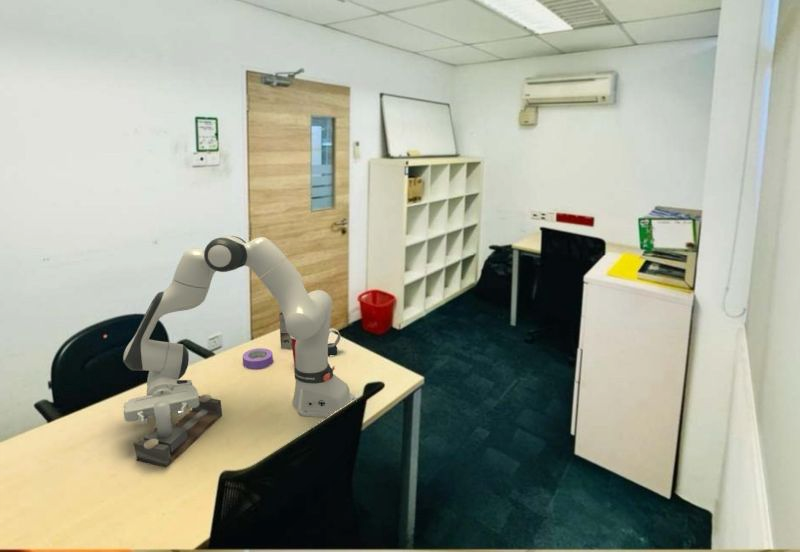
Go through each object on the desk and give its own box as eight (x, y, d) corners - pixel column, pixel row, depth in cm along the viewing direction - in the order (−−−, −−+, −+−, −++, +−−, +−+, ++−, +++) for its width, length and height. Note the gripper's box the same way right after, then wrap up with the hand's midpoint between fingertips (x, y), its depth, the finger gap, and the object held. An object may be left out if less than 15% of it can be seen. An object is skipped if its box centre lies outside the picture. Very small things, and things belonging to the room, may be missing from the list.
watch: (320, 350, 201) (320, 327, 198) (339, 348, 204) (338, 325, 200) (322, 356, 196) (322, 333, 193) (341, 354, 198) (341, 331, 195)
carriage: (162, 432, 141) (156, 394, 137) (187, 437, 139) (183, 400, 135) (144, 446, 135) (138, 408, 131) (171, 452, 133) (165, 413, 129)
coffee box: (294, 349, 202) (293, 315, 197) (280, 348, 202) (278, 314, 197) (301, 340, 210) (299, 307, 205) (287, 339, 211) (285, 306, 206)
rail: (197, 409, 158) (195, 392, 156) (223, 414, 155) (221, 397, 153) (134, 462, 132) (131, 443, 130) (164, 469, 130) (161, 450, 128)
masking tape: (246, 356, 195) (245, 348, 194) (274, 355, 196) (274, 347, 195) (240, 370, 184) (239, 361, 182) (270, 369, 185) (269, 361, 184)
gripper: (122, 392, 140) (119, 417, 128) (196, 378, 149) (199, 401, 137) (125, 410, 142) (123, 437, 130) (198, 395, 151) (201, 419, 139)
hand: (163, 418), depth 133 cm, fingers open, 8 cm apart
